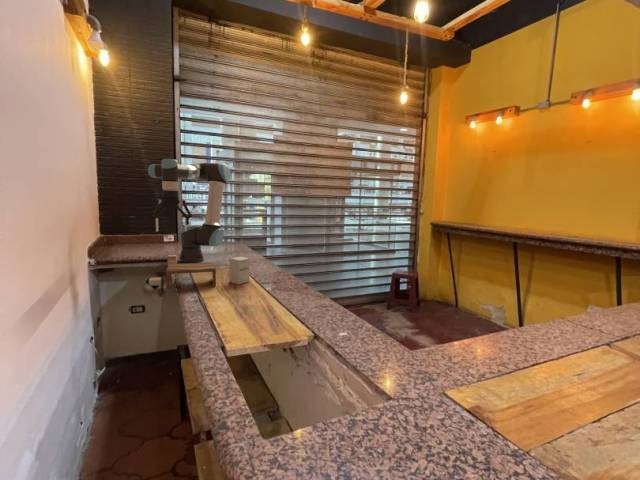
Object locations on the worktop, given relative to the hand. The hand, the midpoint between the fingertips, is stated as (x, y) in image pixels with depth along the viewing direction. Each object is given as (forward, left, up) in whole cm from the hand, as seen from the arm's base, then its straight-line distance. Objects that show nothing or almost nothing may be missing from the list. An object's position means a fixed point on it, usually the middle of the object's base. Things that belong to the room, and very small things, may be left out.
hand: (171, 231), depth 173 cm
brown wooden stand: (+15, +10, -25) cm, 31 cm away
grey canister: (+16, +33, -25) cm, 44 cm away
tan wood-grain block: (+8, 0, -25) cm, 26 cm away
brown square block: (+12, -7, -25) cm, 29 cm away
